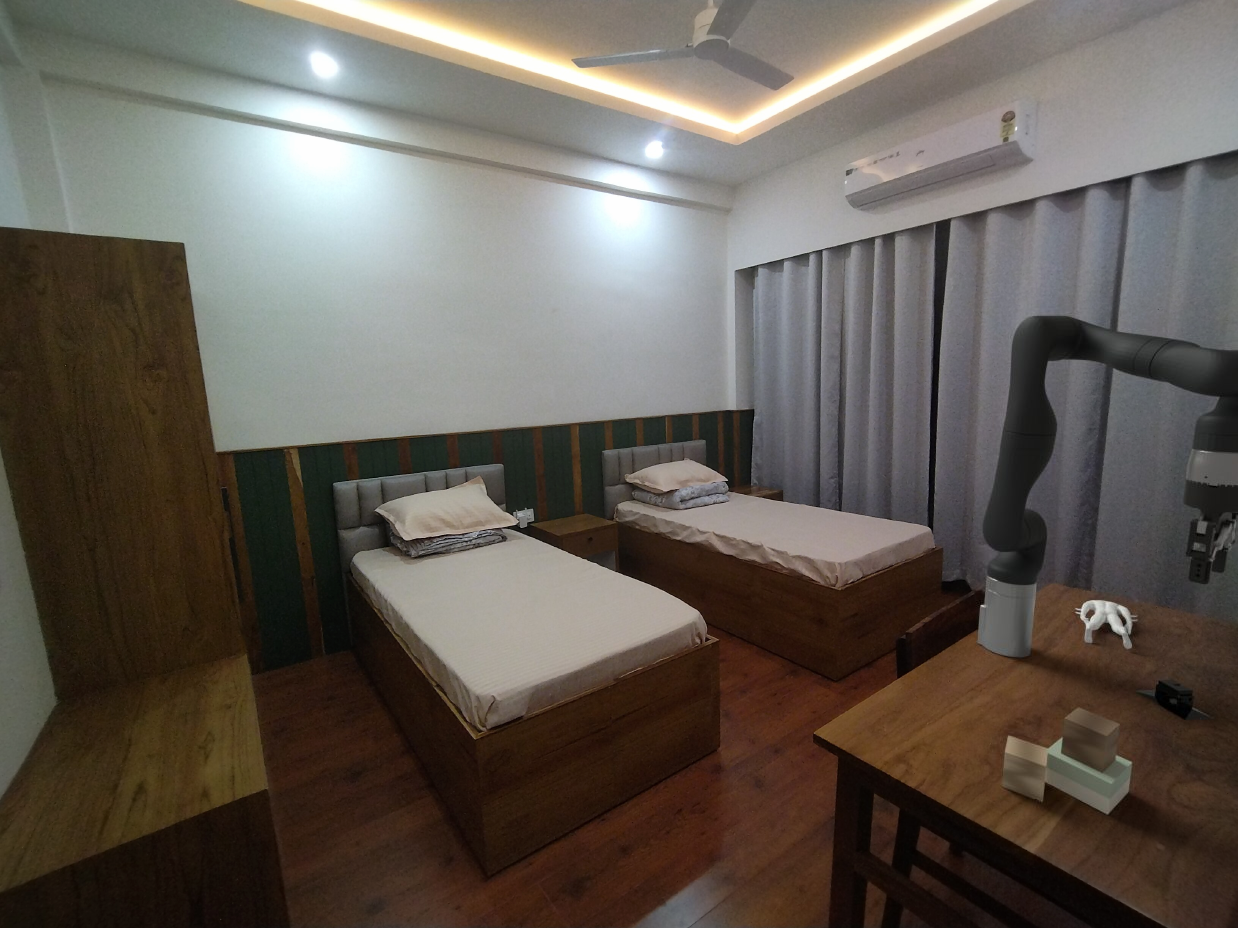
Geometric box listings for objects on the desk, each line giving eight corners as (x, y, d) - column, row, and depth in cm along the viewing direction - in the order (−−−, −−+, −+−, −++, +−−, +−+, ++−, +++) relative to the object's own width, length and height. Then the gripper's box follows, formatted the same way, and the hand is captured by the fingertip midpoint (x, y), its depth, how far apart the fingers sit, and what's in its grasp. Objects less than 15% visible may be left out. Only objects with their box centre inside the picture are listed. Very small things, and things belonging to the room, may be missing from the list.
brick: (1001, 786, 82) (1004, 751, 81) (1005, 768, 86) (1008, 735, 85) (1042, 802, 79) (1046, 766, 78) (1044, 782, 83) (1048, 748, 82)
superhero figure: (1139, 659, 119) (1130, 621, 138) (1146, 636, 118) (1137, 601, 136) (1072, 639, 126) (1073, 606, 145) (1078, 616, 125) (1078, 586, 144)
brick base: (1041, 779, 83) (1044, 751, 82) (1064, 760, 87) (1067, 733, 86) (1107, 814, 76) (1111, 783, 76) (1128, 791, 80) (1132, 762, 80)
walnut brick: (1060, 753, 82) (1064, 717, 81) (1074, 741, 84) (1078, 707, 84) (1102, 772, 78) (1106, 735, 77) (1115, 759, 80) (1119, 723, 79)
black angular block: (1228, 727, 95) (1232, 704, 94) (1188, 729, 95) (1192, 706, 94) (1156, 687, 107) (1159, 666, 106) (1121, 689, 107) (1124, 668, 106)
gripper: (1200, 470, 90) (1187, 561, 92) (1172, 480, 83) (1159, 579, 85) (1269, 476, 83) (1253, 574, 86) (1245, 488, 76) (1228, 594, 79)
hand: (1206, 576), depth 85 cm, fingers open, 8 cm apart
